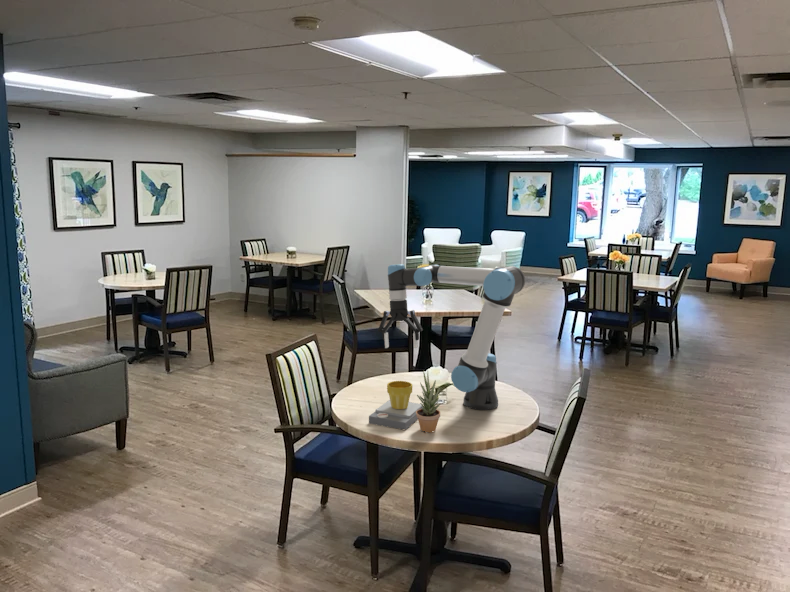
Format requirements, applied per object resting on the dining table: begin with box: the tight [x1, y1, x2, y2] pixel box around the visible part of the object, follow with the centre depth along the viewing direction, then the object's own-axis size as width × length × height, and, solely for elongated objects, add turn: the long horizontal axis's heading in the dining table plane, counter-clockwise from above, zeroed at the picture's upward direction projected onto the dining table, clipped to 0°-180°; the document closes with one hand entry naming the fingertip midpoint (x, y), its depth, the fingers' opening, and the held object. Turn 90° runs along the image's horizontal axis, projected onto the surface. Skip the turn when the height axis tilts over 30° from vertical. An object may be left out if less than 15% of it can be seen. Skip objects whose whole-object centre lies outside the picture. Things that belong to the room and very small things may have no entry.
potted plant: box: [416, 370, 442, 433], centre depth 246 cm, size 10×10×25 cm
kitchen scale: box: [368, 399, 424, 431], centre depth 260 cm, size 16×20×4 cm
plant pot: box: [386, 380, 413, 410], centre depth 261 cm, size 10×10×10 cm
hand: (401, 347), depth 279 cm, fingers open, 13 cm apart
